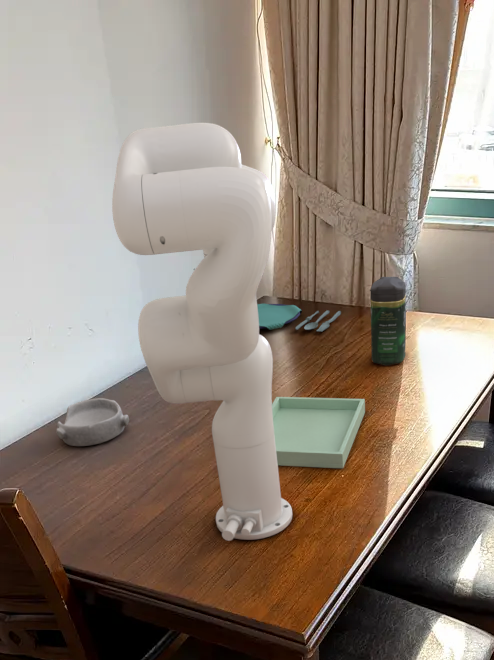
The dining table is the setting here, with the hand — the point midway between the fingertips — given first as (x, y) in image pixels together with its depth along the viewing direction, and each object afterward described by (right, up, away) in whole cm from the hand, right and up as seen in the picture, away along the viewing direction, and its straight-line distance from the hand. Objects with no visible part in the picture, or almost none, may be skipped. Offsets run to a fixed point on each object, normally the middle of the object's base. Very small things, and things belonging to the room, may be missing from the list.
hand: (239, 362), depth 141 cm
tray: (+13, -13, +10) cm, 21 cm away
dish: (-31, -11, +20) cm, 39 cm away
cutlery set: (+7, +24, +70) cm, 74 cm away
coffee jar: (+33, +9, +41) cm, 53 cm away
